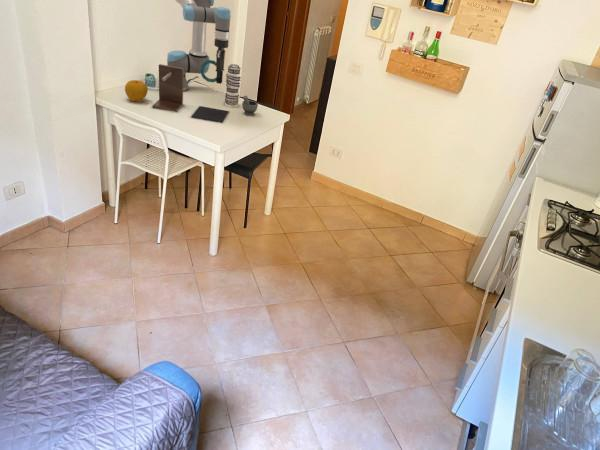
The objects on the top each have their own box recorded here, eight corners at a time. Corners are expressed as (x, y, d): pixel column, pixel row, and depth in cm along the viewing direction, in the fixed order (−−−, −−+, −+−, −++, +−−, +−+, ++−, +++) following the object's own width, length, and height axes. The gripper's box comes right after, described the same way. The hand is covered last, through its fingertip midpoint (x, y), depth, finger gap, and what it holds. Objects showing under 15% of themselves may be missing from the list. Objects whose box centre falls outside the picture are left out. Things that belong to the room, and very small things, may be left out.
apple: (144, 96, 266) (144, 77, 260) (151, 103, 258) (150, 84, 251) (122, 97, 259) (121, 77, 253) (128, 104, 251) (127, 84, 245)
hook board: (160, 101, 264) (159, 64, 252) (183, 104, 265) (183, 68, 253) (151, 108, 251) (150, 69, 240) (175, 112, 252) (176, 74, 240)
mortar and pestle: (249, 110, 276) (250, 91, 270) (259, 114, 272) (262, 96, 265) (236, 113, 268) (238, 93, 261) (247, 117, 264) (249, 98, 257)
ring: (200, 79, 248) (201, 58, 241) (221, 83, 248) (222, 61, 242) (199, 80, 246) (200, 58, 240) (220, 84, 247) (221, 62, 240)
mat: (199, 107, 266) (199, 106, 266) (228, 112, 267) (228, 110, 266) (191, 117, 249) (191, 116, 249) (222, 122, 250) (222, 121, 249)
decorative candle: (221, 105, 276) (224, 64, 263) (227, 101, 284) (230, 62, 271) (235, 108, 275) (238, 68, 262) (240, 104, 283) (243, 65, 269)
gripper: (217, 35, 241) (215, 78, 253) (211, 40, 228) (209, 84, 241) (231, 38, 241) (228, 80, 254) (225, 42, 228) (223, 87, 241)
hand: (219, 82), depth 247 cm, fingers closed on ring, 2 cm apart
